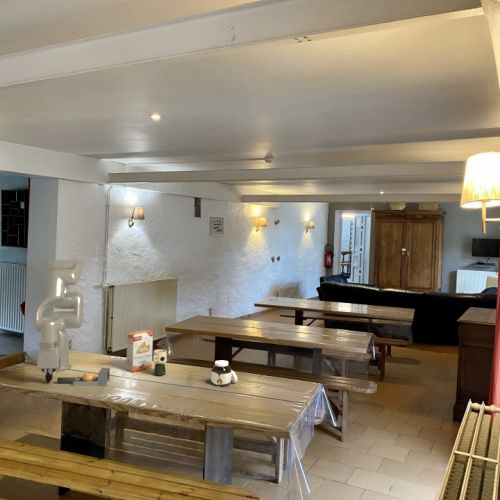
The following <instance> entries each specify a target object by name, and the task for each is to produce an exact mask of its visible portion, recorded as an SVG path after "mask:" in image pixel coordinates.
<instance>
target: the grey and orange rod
mask: <svg viewBox="0 0 500 500" xmlns="http://www.w3.org/2000/svg"><path fill="white" fill-rule="evenodd" d="M97 377H98V376H96V375H95V373H84V374H83V375H82V376H77V377H73V376H70V377H68V376H67V377H60V376H59V377H57V379H56V383H57V384H73V382H74V381H94V380H96V379H97Z"/></svg>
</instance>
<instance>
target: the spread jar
mask: <svg viewBox="0 0 500 500" xmlns="http://www.w3.org/2000/svg"><path fill="white" fill-rule="evenodd" d="M210 380H211V384H213V385H214V386H215V387H218V386H220V387H223V386H224V387H227V386H228V385H230V384H231V383H232V384H236V383H237V382H238V380H239V379H238V376H237V374H236V372H235V371H234V370H232V368H231V367H230V366H229V361H228V360H223V359H222V360H220V359H219V360H215V362H214V366H212V368H211V371H210Z"/></svg>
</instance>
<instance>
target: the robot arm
mask: <svg viewBox="0 0 500 500" xmlns="http://www.w3.org/2000/svg"><path fill="white" fill-rule="evenodd" d="M47 267H48V271H49V274H48V280H47V293H46V297H45V299H43V301H41V302H40V304H39V305H38V307H37V308H36V312H35V318H34V330H35V331H36V332H38V333H41V334H40V335H41V336H40V338H41V339H40V342H37V345H38V346H39V349H38V353H37V362H36V363H37V364H36V367H37V370H38V371H42V372H43V373H44V374H45V378H44V379H45V381H46V383H51V382H52V380H53V377H54V376H53V374H54V372H61V371H62V370H63V371H67V370H70V369H72V366H73V365H72V364H71V363H70V362H69V361H70V360H69V357H70V353H69V352H70V351H69V350H70V348H69V347H70V336H69V334H68V333H69V332H67V330H66V329H79V328H81V327H82V325H83V320H84V319H83V318H84V296H83V293H82V292H80V291H71V286H75V285H77V283H78V281H79V278H80V276H81V273H82V267H83V266H82V263H81V262H80V261H79V260H77V259H76V260H75V259H74V260H73V259H54V260H51V261H49V262H48V266H47ZM52 305H53V307H54V308H55V309H60V311H53V312H51V313H50V314H49V316H48V317H47V316H44V317H43V314H44V311H45V310H46V309H47V308H49V307H51V306H52ZM61 310H63V311H61ZM66 310H67V311H66ZM70 310H71V311H70Z"/></svg>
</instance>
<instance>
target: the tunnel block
mask: <svg viewBox="0 0 500 500" xmlns="http://www.w3.org/2000/svg"><path fill="white" fill-rule="evenodd" d="M110 371H111V368H110V367H101V368H100V370H99V372H97V376H96V377H97V379H96V380H94V381H74V382H73V383H72V386H74V387H75V386H77V387H78V386H79V387H80V386H82V387H83V386H85V387H86V386H87V387H89V386H91V387H92V386H95V387H96V386H98V387H99V386H100V387H103V386H104V387H107V385H108V382H109V381H110V380H111V378H110V377H111V376H110V374H111V372H110Z"/></svg>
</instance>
